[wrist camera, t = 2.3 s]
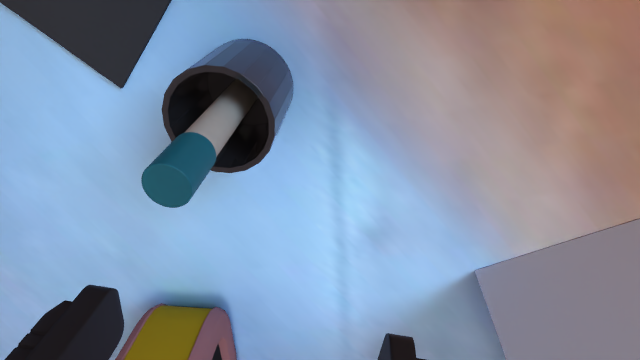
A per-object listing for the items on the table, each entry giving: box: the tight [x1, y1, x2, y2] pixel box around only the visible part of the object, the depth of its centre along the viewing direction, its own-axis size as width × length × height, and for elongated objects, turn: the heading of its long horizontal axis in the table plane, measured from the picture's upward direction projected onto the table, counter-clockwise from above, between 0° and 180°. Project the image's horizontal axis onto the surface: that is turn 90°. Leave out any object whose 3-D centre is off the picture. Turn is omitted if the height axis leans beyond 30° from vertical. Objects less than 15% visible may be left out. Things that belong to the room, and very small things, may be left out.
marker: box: [142, 79, 258, 208], centre depth 31 cm, size 3×3×19 cm
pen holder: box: [162, 39, 293, 173], centre depth 35 cm, size 9×9×10 cm
